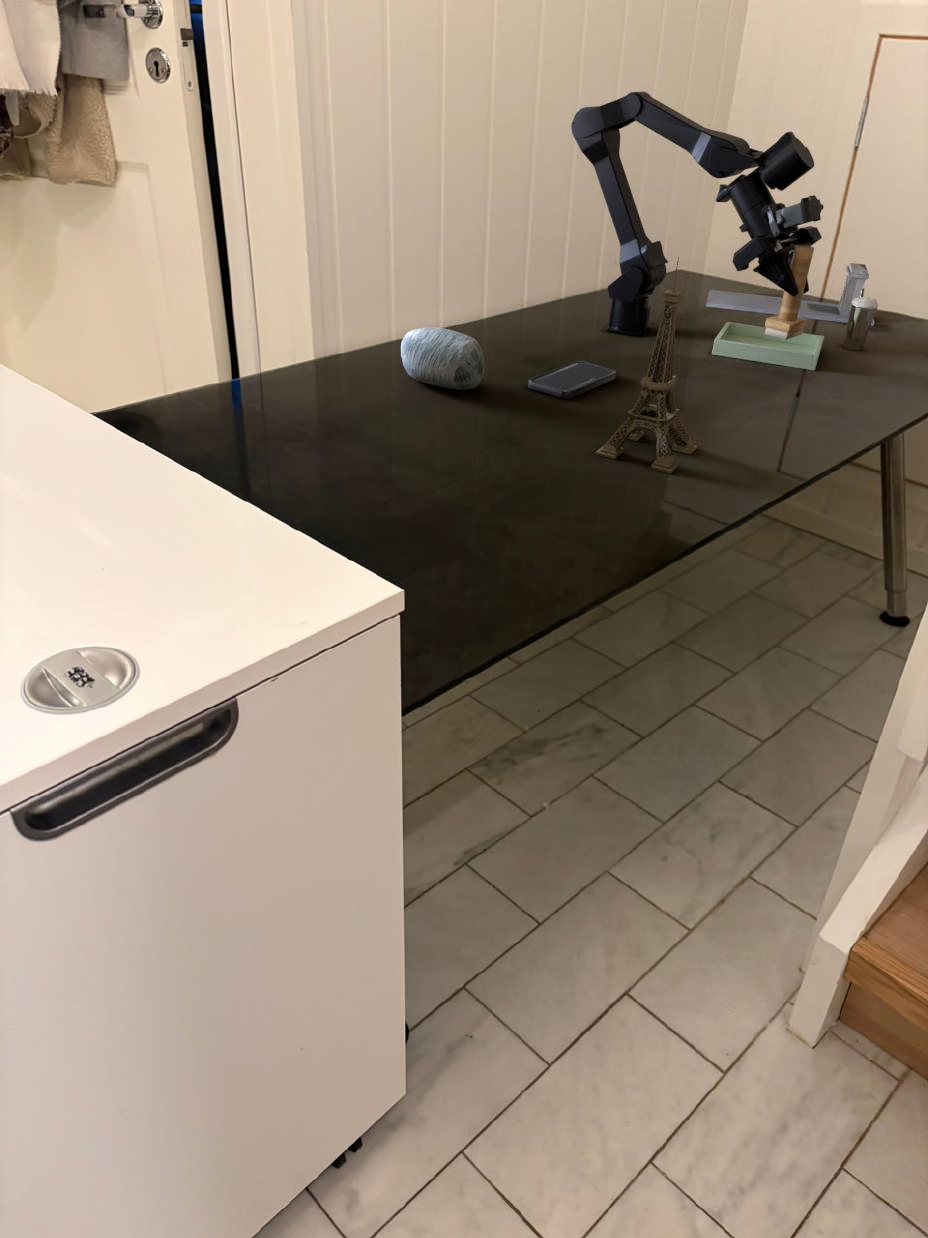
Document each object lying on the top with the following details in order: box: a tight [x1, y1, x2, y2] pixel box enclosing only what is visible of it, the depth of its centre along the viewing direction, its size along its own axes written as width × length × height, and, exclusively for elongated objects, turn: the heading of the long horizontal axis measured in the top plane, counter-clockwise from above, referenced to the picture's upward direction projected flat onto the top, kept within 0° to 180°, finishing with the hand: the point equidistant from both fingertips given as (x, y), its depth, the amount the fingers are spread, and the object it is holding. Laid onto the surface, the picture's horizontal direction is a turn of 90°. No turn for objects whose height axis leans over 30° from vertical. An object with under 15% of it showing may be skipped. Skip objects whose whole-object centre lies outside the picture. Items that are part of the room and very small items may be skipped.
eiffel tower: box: [594, 256, 699, 474], centre depth 121 cm, size 11×11×25 cm
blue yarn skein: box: [400, 326, 486, 391], centre depth 145 cm, size 14×10×10 cm
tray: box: [711, 321, 825, 371], centre depth 169 cm, size 18×14×3 cm
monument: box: [705, 262, 875, 327], centre depth 195 cm, size 12×33×10 cm, turn 75°
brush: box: [764, 245, 815, 340], centre depth 156 cm, size 6×4×14 cm
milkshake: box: [843, 287, 879, 352], centre depth 173 cm, size 4×5×10 cm
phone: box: [527, 360, 617, 400], centre depth 150 cm, size 8×1×15 cm
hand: (801, 293), depth 155 cm, fingers closed on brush, 3 cm apart
